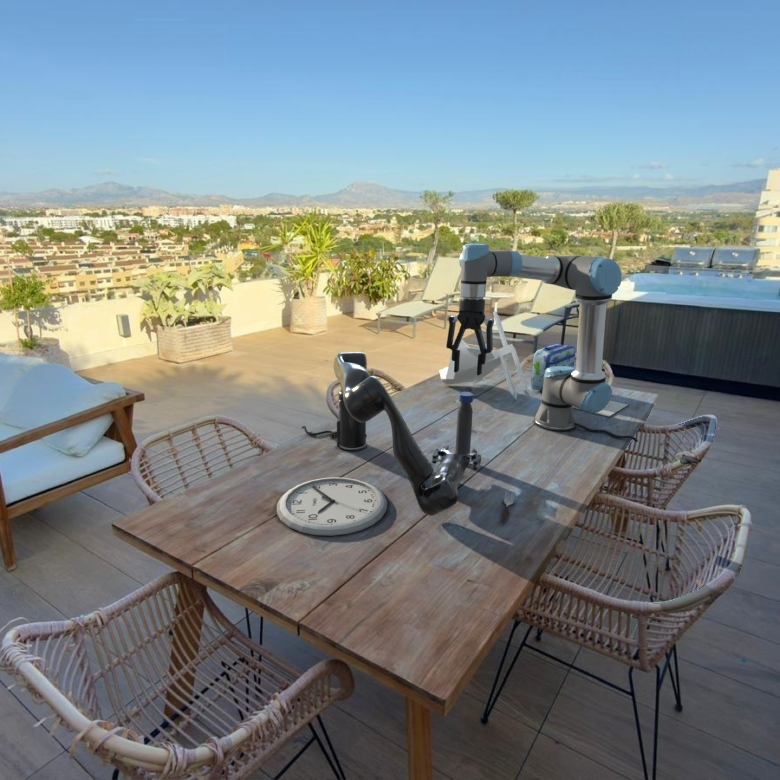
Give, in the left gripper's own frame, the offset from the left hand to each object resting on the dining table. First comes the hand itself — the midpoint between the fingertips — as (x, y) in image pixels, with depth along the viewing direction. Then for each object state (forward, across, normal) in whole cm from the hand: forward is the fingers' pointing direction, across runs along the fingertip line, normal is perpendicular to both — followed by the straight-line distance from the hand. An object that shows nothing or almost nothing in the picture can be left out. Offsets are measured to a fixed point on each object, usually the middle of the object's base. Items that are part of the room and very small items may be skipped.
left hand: (460, 449), depth 165 cm
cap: (+4, 0, -17) cm, 17 cm away
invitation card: (+80, -47, +6) cm, 93 cm away
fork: (-22, -17, +6) cm, 29 cm away
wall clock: (-35, +29, +6) cm, 46 cm away
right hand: (+4, 0, -24) cm, 24 cm away
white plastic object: (+82, +6, +6) cm, 82 cm away
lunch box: (+100, -26, +6) cm, 104 cm away
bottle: (+4, 0, +6) cm, 8 cm away
